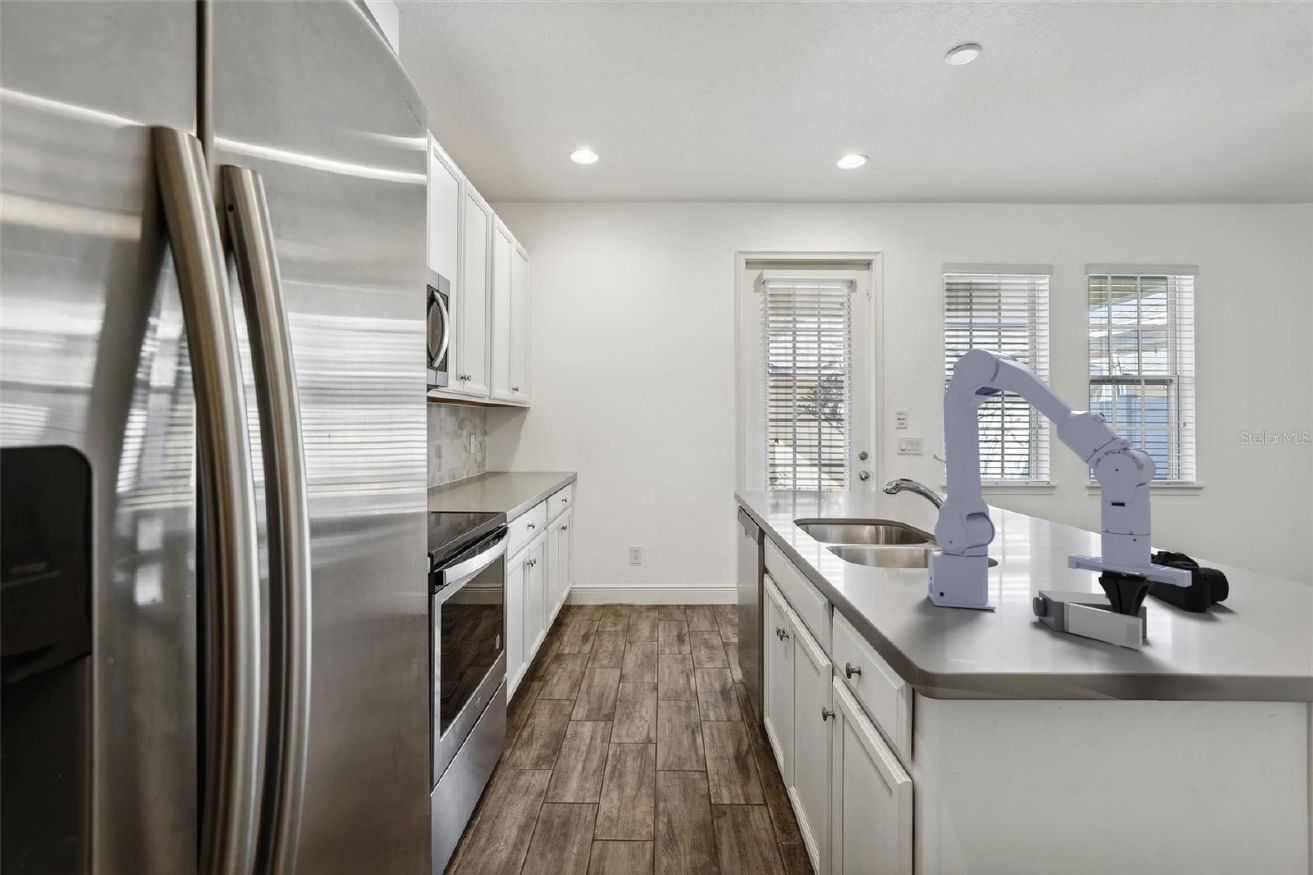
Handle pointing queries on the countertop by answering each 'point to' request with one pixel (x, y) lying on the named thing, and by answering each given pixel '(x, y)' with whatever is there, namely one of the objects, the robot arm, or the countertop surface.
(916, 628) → the countertop surface
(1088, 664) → the countertop surface
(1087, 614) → the side door
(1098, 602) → the grey box
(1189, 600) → the film camera
